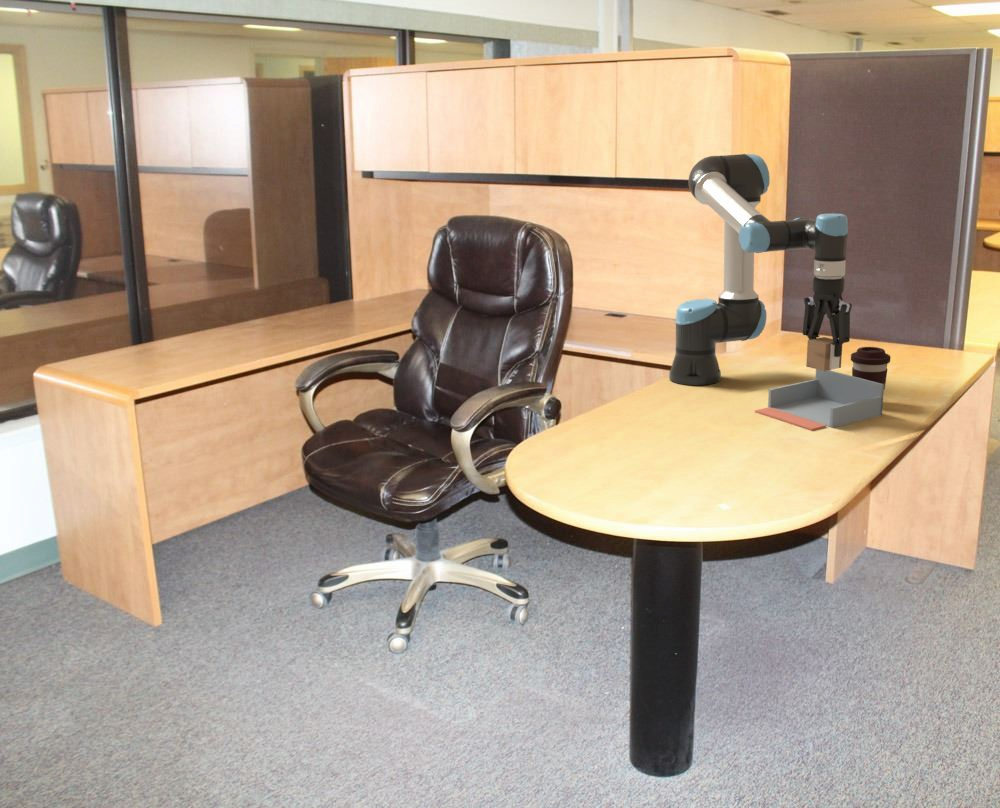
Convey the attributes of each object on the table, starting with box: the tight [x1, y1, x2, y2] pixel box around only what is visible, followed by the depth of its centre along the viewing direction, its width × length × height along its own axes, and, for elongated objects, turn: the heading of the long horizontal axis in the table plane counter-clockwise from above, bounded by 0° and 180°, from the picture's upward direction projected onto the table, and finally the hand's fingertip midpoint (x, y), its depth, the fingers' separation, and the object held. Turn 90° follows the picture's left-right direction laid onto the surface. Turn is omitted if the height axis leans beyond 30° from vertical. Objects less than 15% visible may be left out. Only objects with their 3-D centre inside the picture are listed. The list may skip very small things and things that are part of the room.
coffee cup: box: [850, 346, 892, 390], centre depth 272 cm, size 10×10×15 cm
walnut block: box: [805, 336, 842, 371], centre depth 260 cm, size 6×6×7 cm
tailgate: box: [754, 406, 827, 432], centre depth 260 cm, size 20×1×5 cm
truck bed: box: [767, 369, 885, 429], centre depth 264 cm, size 22×18×9 cm
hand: (824, 365), depth 261 cm, fingers closed on walnut block, 6 cm apart
